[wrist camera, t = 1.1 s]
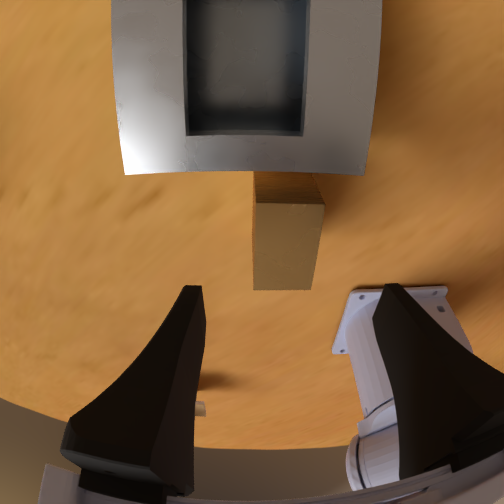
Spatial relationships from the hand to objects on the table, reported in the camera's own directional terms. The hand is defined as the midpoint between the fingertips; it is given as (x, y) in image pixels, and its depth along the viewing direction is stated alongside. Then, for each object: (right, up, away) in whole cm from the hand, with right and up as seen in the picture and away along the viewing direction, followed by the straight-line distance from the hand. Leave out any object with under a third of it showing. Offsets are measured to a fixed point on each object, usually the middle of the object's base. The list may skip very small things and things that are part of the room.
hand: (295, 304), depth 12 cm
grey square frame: (-2, +12, +1) cm, 12 cm away
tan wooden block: (0, +5, +7) cm, 8 cm away
